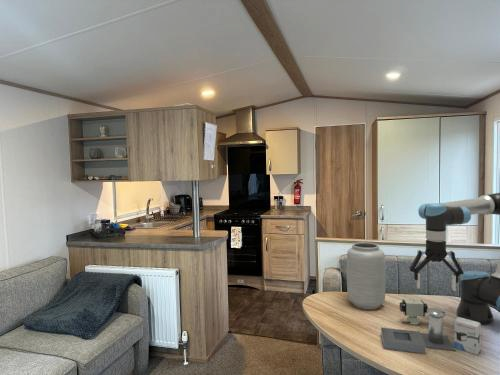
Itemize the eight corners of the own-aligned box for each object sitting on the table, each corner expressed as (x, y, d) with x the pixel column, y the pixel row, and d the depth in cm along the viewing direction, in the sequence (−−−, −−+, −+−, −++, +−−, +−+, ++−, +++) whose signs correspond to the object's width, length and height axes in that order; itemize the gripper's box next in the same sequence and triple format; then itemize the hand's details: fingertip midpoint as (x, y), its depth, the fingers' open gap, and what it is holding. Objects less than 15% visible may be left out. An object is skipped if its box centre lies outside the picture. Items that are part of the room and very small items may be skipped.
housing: (419, 339, 146) (419, 331, 146) (425, 353, 134) (425, 345, 134) (381, 334, 151) (381, 327, 150) (383, 348, 139) (383, 340, 139)
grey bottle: (442, 337, 145) (442, 308, 145) (446, 345, 139) (446, 315, 138) (425, 335, 147) (425, 307, 147) (428, 343, 141) (428, 314, 140)
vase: (341, 299, 193) (340, 242, 191) (372, 295, 196) (372, 240, 194) (358, 313, 173) (357, 250, 171) (393, 309, 176) (393, 247, 175)
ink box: (453, 347, 139) (453, 320, 138) (456, 343, 142) (457, 316, 141) (477, 355, 132) (478, 326, 132) (480, 350, 136) (480, 322, 135)
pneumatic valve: (428, 326, 157) (428, 301, 157) (401, 324, 160) (401, 300, 159) (424, 321, 163) (424, 297, 162) (399, 319, 165) (398, 296, 164)
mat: (447, 336, 147) (447, 335, 147) (455, 351, 136) (455, 349, 136) (417, 333, 151) (417, 332, 151) (423, 347, 139) (423, 346, 139)
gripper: (466, 238, 141) (466, 287, 142) (402, 237, 148) (402, 283, 149) (472, 242, 134) (472, 294, 135) (405, 240, 141) (405, 289, 142)
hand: (435, 288), depth 142 cm, fingers open, 13 cm apart
